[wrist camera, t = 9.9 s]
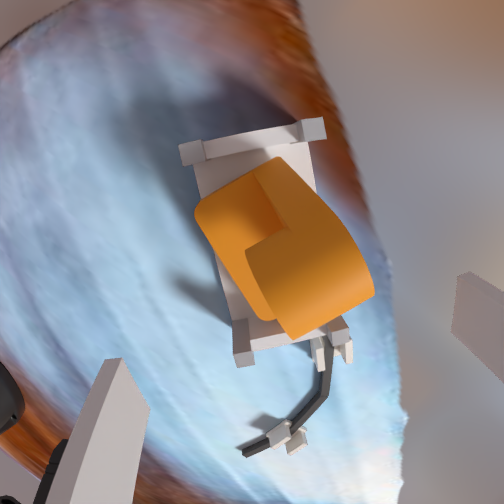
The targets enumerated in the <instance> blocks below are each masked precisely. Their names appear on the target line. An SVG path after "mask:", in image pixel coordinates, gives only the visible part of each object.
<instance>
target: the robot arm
mask: <svg viewBox="0 0 504 504" xmlns="http://www.w3.org/2000/svg"><path fill="white" fill-rule="evenodd" d="M456 289H457V290H456V298H455V306H454V314H453V321H452V328H451V333H452V334H453V335H454V336H455V337H457V338H458V339H459V340H460V341H461V342H462V343H463V344H464V345H465V346H466V347H467V348H468V349H469V350H470V351H471V352H472V353H473V354H475V355H476V356H477V357H478V358H479V359H480V360H481V361H482V362H483V363H484V364H485V365H486V366H487V367H488V368H489V369H490V370H491V371H492V372H493V373H494V374H495V375H496V376H497V377H498V378H499V379H500V380H501V381H502V382H503V383H504V292H503V291H501V290H500V289H498V288H497V287H495V286H493V285H492V284H490V283H489V282H487V281H485V280H483V279H482V278H480V277H479V276H477V275H475V274H474V273H472V272H467V273H464V274H462V275H459V276H458V277H457V288H456ZM24 411H25V403H24V399H23V396H22V394H21V392H20V390H19V388H18V386H17V384H16V383H15V381H14V380H13V378H12V377H11V375H10V374H9V373H8V371H7V370H6V369H5V367H4V366H3V365H2V364H1V363H0V435H1V434H2V433H4V432H5V431H6V430H8V429H9V428H11V427H12V426H14V425H15V424H16V423H17V422H18V421H19V420H20V418H21V416H22V415H23V413H24ZM149 413H150V408H149V406H148V404H147V402H146V401H145V399H144V397H143V396H142V394H141V392H140V390H139V388H138V387H137V385H136V383H135V381H134V379H133V377H132V375H131V374H130V372H129V370H128V368H127V366H126V364H125V362H124V360H123V358H115V359H106V360H105V361H104V363H103V365H102V367H101V369H100V371H99V373H98V375H97V377H96V379H95V381H94V384H93V386H92V388H91V390H90V392H89V394H88V397H87V399H86V401H85V403H84V405H83V408H82V410H81V412H80V415H79V417H78V419H77V422H76V424H75V426H74V429H73V431H72V433H71V436H70V438H69V439H62V441H61V442H60V443H59V444H58V445H57V446H56V448H55V449H54V450H53V453H52V455H51V457H50V460H49V464H48V465H47V467H46V470H45V474H44V475H43V477H42V480H41V483H40V485H39V488H38V491H37V494H36V497H35V499H34V502H33V504H132V499H133V493H134V488H135V482H136V476H137V471H138V466H139V461H140V455H141V450H142V445H143V441H144V436H145V431H146V426H147V422H148V417H149ZM0 504H21V503H20V502H18V501H17V500H16V499H15V498H13V497H11V496H7V495H6V496H1V497H0Z"/></svg>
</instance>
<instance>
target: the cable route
mask: <svg viewBox="0 0 504 504" xmlns="http://www.w3.org/2000/svg"><path fill="white" fill-rule="evenodd" d="M310 347H311V355H312V360H313V362H315V365H316V367H317V370H318V372H320V371H321V377H320V387H319V391H318V393H317V394H316V395H315V396H314V397H313V398H312V400H311V401H310V402H309V403H308V404H307V405H306V406H305V407H304V409H303V410H302V411H301V412H300V413H299V414H298V415H297V416H296V417H295V418H294V420H293V421H290V420H287V419H285V420H284V421H283V422H281V423H280V424H279V425H277V426H276V427H274V428H273V429H272V430H270V431H269V432H268V433H266V437H268V438H267V439H265V440H263V441H261V442H258V443H256V444H254V445H252V446H250V447H248V448H245V449H243V450H242V455H243V456H245V457H246V458H247V457H250V456H252V455H254V454H256V453H259V452H261V451H263V450H265V449H267V448H269V447H270V448H272V449H277V448H278V447H280V446H281V445H283V444H286V450H287V454H289V455H293V454H294V453H296V452H298V451H299V450H301V449H302V448H304V447H305V446H307V445H308V444H307V440H306V436H305V432H306V431H307V429H306V428H305V427H303V426H302V425H303V424H304V423H305V422H306V420H307V419H308V418H309V417H310V416H311V415H312V414H313V413H314V412H315V411H316V410H317V409H318V408H319V406H320V405H321V404H322V403H323V402H324V401H325V400H326V399H327V398H328V396H329V390H330V382H331V374H332V365H333V357H334V356H338V355H342V357H343V359H344V361H345V363H346V364H349V363H353V345H352V339H351V337H350V335H349V342H348V343H344V344H340V345H337V346H332V344H331V342H330V340H329V338H328V336H327V335H324V336H320V337H316V338H312V339H310Z"/></svg>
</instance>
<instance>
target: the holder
mask: <svg viewBox="0 0 504 504" xmlns="http://www.w3.org/2000/svg"><path fill="white" fill-rule="evenodd" d="M321 139H327V138H326V132H325V127H324V122H323V117H320V118H312V119H305V120H300V121H298V122H296V123H293V124H291V125H285V126H279V127H273V128H268V129H262V130H257V131H251V132H246V133H241V134H236V135H231V136H227V137H222V138H218V139H213V140H209V141H203V140H201V139H199V140H195V141H191V142H187V143H183V144H179V145H178V147H179V152H180V156H181V161H182V165H183V167H184V166H188V165H192V164H193V168H194V172H195V176H196V181H197V185H198V189H199V193H200V198H201V199H202V198H204V197H205V196H207V195H209V194H210V193H212V192H214V191H216V190H217V189H219V188H221V187H222V186H224V185H226V184H228V183H229V182H231V181H233V180H235V179H236V178H238V177H240V176H242V175H243V174H245V173H247V172H249V171H250V170H252V169H254V168H256V167H258V166H259V165H261V164H263V163H265V162H267V161H269V160H270V159H272V158H274V157H276V156H279V157H281V158H282V159H283V160H284V161H285V162H286V163H287V164H288V165H289V166H290V167H291V168H292V169H293V170H294V171H295V172H296V173H297V174H298V175H299V176H300V177H301V178H302V179H303V180H304V181H305V182H306V183H307V184H308V185H309V186H310V187H311V188H312V190H313V191H314V192H315V193H316V187H315V181H314V175H313V169H312V164H311V158H310V153H309V147H308V142H307V141H314V140H321ZM316 194H317V193H316ZM213 251H214V255H215V259H216V262H217V266H218V270H219V274H220V278H221V282H222V285H223V289H224V293H225V297H226V300H227V304H228V308H229V312H230V315H231V319H232V337H233V356H234V359H235V363H236V366H237V368H240V367H246V366H251V365H255V361H254V353H253V352H254V351H259V350H264V349H269V348H274V347H278V346H283V345H287V344H291V343H296V342H300V341H304V340H308V339H312V338H316V337H320V336H324V335H327V336H328V338H329V340H330V342H331V344H332V346H337V345H340V344H344V343H348V342H349V327H348V326H347V324H346V322H345V321H344V319H343V318H342V316H341V315H340V316H338V317H336V318H334V319H333V320H331V321H329V322H327V323H325V324H324V325H322V326H320V327H318V328H316V329H314V330H312V331H311V332H309V333H307V334H305V335H303V336H301V337H299V338H297V339H295V340H292V339H291V338H290V337H289V336H288V335H287V334H286V332H285V331H284V329H283V328H282V326H281V325H280V323H279V322H278V320H277V319H274V320H271V321H264V320H261V319H260V318H258V316H257V315H256V314H255V312H254V310H253V309H252V307H251V306H250V304H249V303H248V301H247V300H246V298H245V297H244V295H243V294H242V292H241V291H240V289H239V288H238V286H237V284H236V283H235V281H234V280H233V278H232V277H231V275H230V274H229V272H228V271H227V269H226V267H225V266H224V264H223V263H222V261H221V260H220V258H219V256H218V255H217V253H216V252H215V250H214V249H213Z"/></svg>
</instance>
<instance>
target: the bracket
mask: <svg viewBox="0 0 504 504" xmlns="http://www.w3.org/2000/svg"><path fill="white" fill-rule="evenodd" d="M194 216H195V220H196V222H197V223H198V225H199V226H200V228H201V230H202V231H203V233H204V234H205V236H206V238H207V239H208V241H209V242H210V244H211V245H212V247H213V249H214V250H215V252H216V253H217V255H218V256H219V258H220V260H221V261H222V263H223V264H224V266H225V267H226V269H227V271H228V272H229V274H230V275H231V277H232V278H233V280H234V281H235V283H236V284H237V286H238V288H239V289H240V291H241V292H242V294H243V295H244V297H245V298H246V300H247V301H248V303H249V304H250V306H251V307H252V309H253V310H254V312H255V314H256V315H257V316H258V318H260V319H261V320H264V321H271V320H274V319H277V320H278V322H279V323H280V325H281V326H282V328H283V329H284V331H285V332H286V334H287V335H288V336H289V337H290V338H291V339H292V340H295V339H297V338H299V337H301V336H303V335H305V334H307V333H309V332H311V331H312V330H314V329H316V328H318V327H320V326H322V325H324V324H325V323H327V322H329V321H331V320H333V319H334V318H336V317H338V316H340V315H342V314H343V313H345V312H347V311H349V310H350V309H352V308H354V307H355V306H357V305H359V304H361V303H362V302H364V301H366V300H367V299H369V298H371V297H372V296H374V293H375V291H374V285H373V281H372V278H371V275H370V272H369V270H368V267H367V265H366V263H365V261H364V259H363V257H362V254H361V253H360V251H359V249H358V247H357V245H356V243H355V242H354V240H353V238H352V237H351V235H350V233H349V232H348V230H347V229H346V227H345V226H344V225H343V223H342V222H341V220H340V219H339V218H338V217H337V216H336V214H335V213H334V212H333V211H332V210H331V209H330V208H329V207H328V206H327V204H326V203H325V202H324V201H323V200H322V199H321V198H320V197H319V196H318V195H317V194H316V193H315V192H314V191H313V190H312V188H311V187H310V186H309V185H308V184H307V183H306V182H305V181H304V180H303V179H302V178H301V177H300V176H299V175H298V174H297V173H296V172H295V171H294V170H293V169H292V168H291V167H290V166H289V165H288V164H287V163H286V162H285V161H284V160H283V159H282V158H281V157H279V156H276V157H274V158H272V159H270V160H269V161H267V162H265V163H263V164H261V165H259V166H258V167H256V168H254V169H252V170H250V171H249V172H247V173H245V174H243V175H242V176H240V177H238V178H236V179H235V180H233V181H231V182H229V183H228V184H226V185H224V186H222V187H221V188H219V189H217V190H216V191H214V192H212V193H210V194H209V195H207V196H205V197H204V198H202V199H201V200H200V201H199V203H198V205H197V206H196V208H195V211H194Z"/></svg>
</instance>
